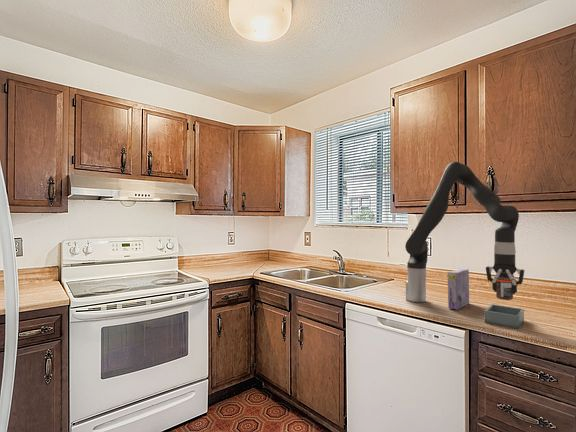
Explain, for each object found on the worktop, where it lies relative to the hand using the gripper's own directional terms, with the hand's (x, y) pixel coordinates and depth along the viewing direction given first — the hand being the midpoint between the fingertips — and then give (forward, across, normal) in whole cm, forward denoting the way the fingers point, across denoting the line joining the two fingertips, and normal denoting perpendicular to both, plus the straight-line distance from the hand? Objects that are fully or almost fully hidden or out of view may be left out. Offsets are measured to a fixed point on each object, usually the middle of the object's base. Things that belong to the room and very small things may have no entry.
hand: (504, 292), depth 144 cm
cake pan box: (+13, -22, +15) cm, 29 cm away
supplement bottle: (+3, 0, 0) cm, 3 cm away
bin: (+12, 0, 0) cm, 12 cm away
